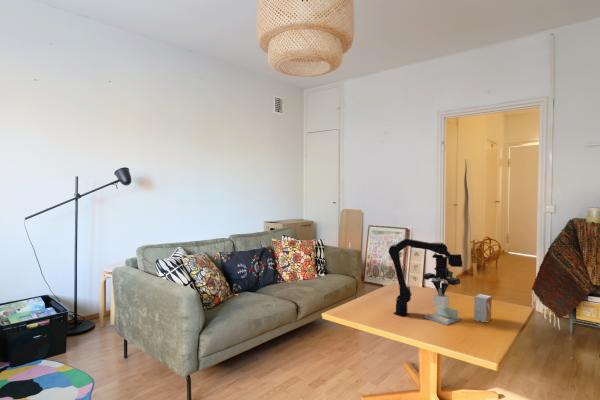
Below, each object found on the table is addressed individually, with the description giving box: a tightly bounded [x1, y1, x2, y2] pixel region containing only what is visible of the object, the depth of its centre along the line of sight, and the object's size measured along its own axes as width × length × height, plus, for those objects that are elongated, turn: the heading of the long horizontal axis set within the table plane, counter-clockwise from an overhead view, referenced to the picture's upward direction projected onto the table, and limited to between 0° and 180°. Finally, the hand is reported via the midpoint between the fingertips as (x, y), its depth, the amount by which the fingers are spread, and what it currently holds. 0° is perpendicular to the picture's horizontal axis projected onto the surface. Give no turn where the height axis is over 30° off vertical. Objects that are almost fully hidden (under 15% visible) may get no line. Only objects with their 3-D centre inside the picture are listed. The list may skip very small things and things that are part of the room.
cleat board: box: [423, 306, 462, 326], centre depth 194 cm, size 14×14×6 cm
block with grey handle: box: [433, 287, 450, 309], centre depth 195 cm, size 5×6×10 cm
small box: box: [473, 293, 493, 323], centre depth 193 cm, size 8×6×13 cm
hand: (441, 294), depth 195 cm, fingers closed on block with grey handle
